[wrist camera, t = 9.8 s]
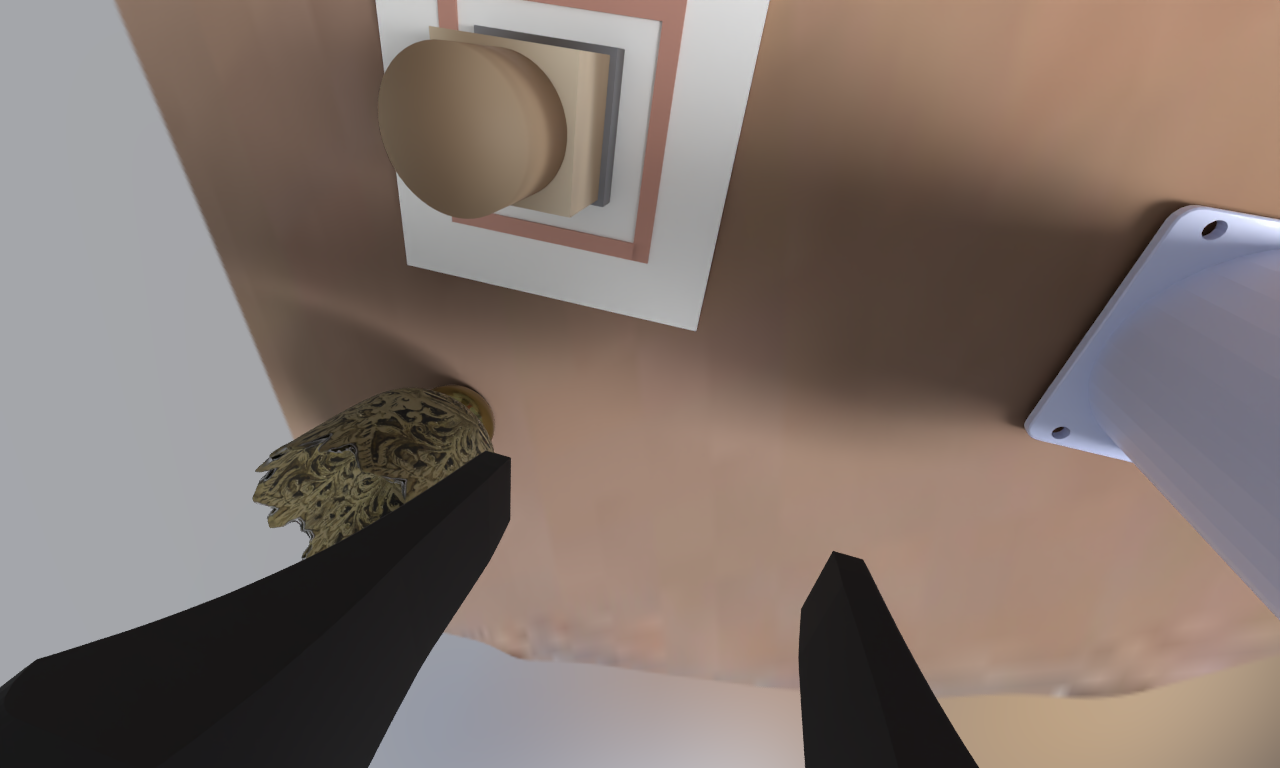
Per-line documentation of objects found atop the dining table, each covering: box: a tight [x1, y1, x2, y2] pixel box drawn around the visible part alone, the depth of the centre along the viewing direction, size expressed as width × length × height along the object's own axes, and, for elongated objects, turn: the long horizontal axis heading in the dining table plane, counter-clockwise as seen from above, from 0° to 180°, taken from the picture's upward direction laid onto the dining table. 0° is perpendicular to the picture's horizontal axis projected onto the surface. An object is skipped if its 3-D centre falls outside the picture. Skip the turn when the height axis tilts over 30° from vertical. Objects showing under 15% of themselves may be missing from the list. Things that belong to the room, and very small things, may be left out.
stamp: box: [378, 25, 625, 219], centre depth 14 cm, size 4×4×6 cm
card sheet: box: [376, 0, 770, 331], centre depth 16 cm, size 12×12×1 cm
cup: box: [253, 384, 495, 560], centre depth 21 cm, size 8×7×8 cm
